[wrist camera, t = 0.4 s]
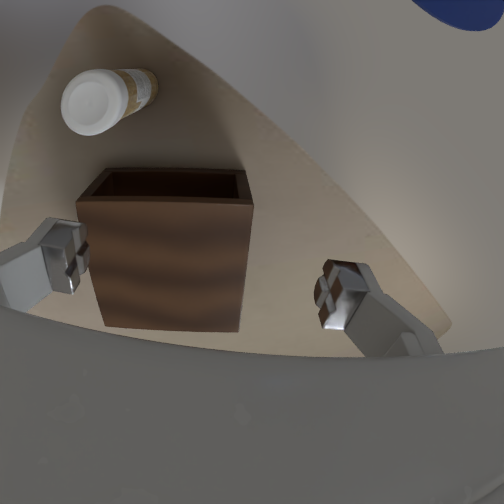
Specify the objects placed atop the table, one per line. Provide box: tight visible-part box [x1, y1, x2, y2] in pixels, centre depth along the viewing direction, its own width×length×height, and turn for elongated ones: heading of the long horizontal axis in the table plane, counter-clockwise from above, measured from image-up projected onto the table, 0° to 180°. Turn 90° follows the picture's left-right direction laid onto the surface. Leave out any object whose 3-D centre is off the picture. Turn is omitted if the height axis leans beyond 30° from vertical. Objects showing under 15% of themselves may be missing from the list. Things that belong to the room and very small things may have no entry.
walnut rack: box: [75, 168, 254, 332], centre depth 33 cm, size 16×16×9 cm
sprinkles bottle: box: [61, 68, 158, 136], centre depth 21 cm, size 5×5×13 cm
